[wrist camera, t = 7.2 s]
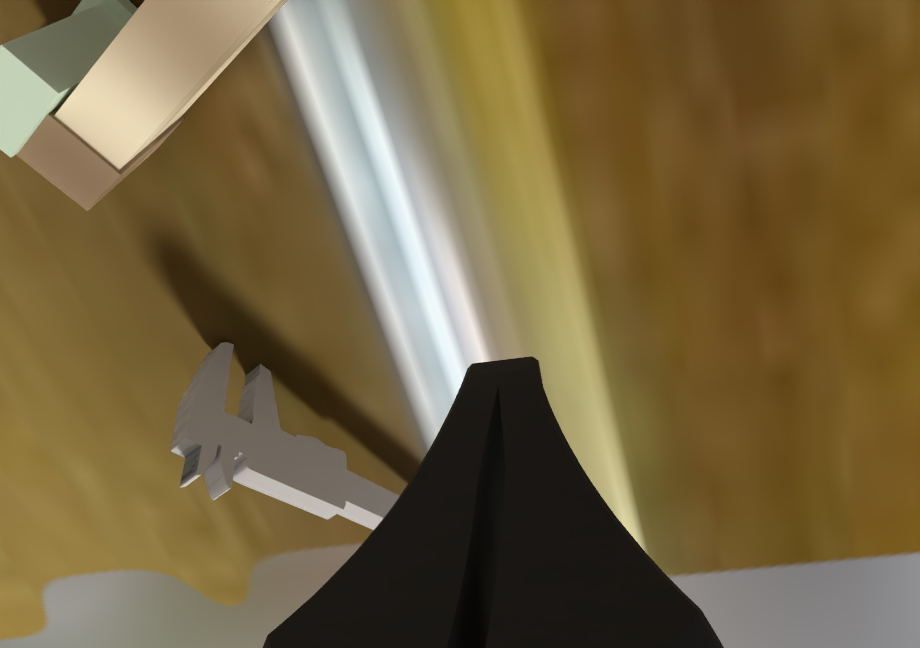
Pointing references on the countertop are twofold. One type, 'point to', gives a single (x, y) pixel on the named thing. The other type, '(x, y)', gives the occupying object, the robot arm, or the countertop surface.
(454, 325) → the countertop surface
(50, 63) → the latch post
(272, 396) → the caliper
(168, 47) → the gate
